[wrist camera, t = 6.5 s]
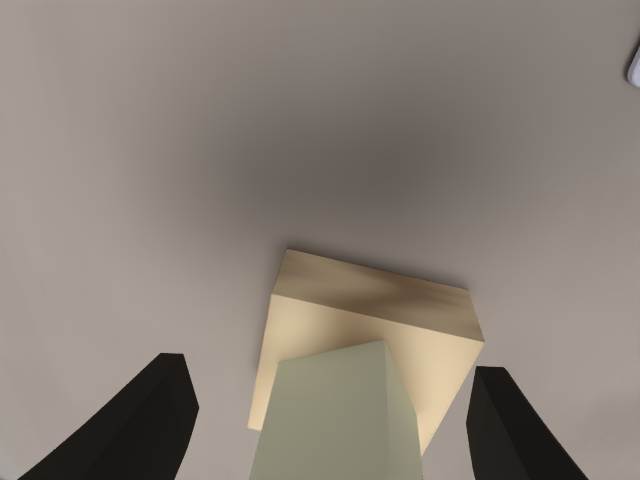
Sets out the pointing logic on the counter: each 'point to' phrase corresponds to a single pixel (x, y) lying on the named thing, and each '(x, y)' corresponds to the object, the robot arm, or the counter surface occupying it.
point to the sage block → (339, 419)
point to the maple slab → (371, 329)
